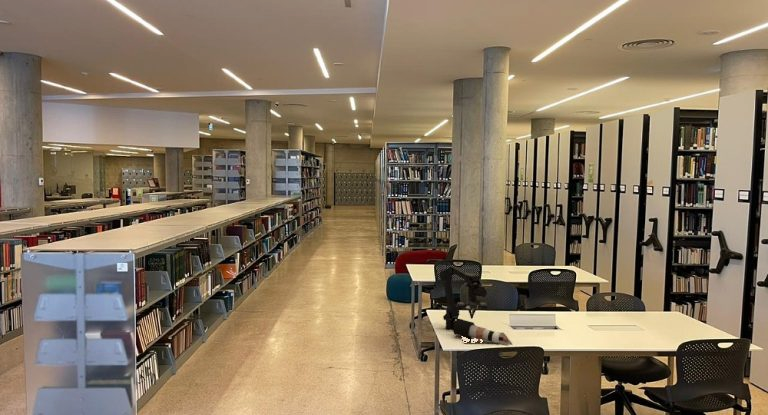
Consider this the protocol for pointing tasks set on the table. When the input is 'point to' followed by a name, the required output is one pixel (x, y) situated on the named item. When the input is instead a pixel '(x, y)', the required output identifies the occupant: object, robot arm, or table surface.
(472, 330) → the banded tapered cylinder
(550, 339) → the table surface
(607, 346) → the table surface
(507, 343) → the plate
